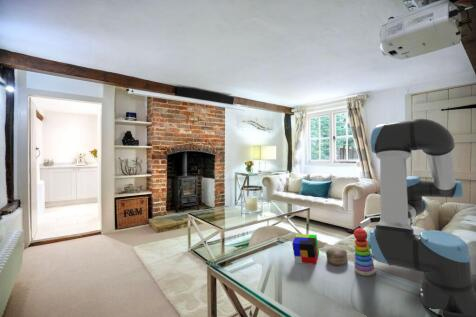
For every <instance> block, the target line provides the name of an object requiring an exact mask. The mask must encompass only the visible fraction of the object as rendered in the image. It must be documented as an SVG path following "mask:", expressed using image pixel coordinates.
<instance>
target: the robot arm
mask: <svg viewBox="0 0 476 317" xmlns="http://www.w3.org/2000/svg"><path fill="white" fill-rule="evenodd" d="M370 149H371V152H372V153H373V154H375V157H376V158H378V160H379V173H380V174H379V175H380V176H379V182H380V184H379V186H380V187H379V193H380V194H379V196H380V197H379V201H380V202H379V204H380V207H379V208H380V209H379V210H380V211H379V212H378V213H372V214H367V215H364V219H363V220H362V221H360V222H359V225H360V227H359V228H361V229H364V228H365V227H368V226H370V225H371V224H373V223H376V224H375V228H373V229H371V230H370V231H369V232H370V233H369V234H370V235H369V245H370V246H369V247H370V251H371V255H372V257H373V258H374V259H375V260H376V261H377V262H379V263H382V264H385V265H388V266H395V267H399V268H403V269H409V270H412V271H413V270H414V271H417V272H422V273H423V275H424V278H423V281H422V284H421V286H420V289H419V296H420V297H419V298H420V300H421V302H422V304H423V306H424V307H425V308H427V307H428V308H431V309H442V311H443V316H444V317H476V291H475V289H474V287H473V286H474V285H473V278H472V277H473V276H472V268H471V267H472V266H471V260H472V257H471V254H470V249H469V245H468V244H467V243H466V241H465V240H464V239H462V238H460V237H458V236H457V235H455V234H453V233H449V232H447V231H446V232H445V231H442V230H437V229H436V230H435V229H430V230H428V229H427V230H423V231H421V232H420V233H419V234H414V231H415V230H414V228H413V227H412V225H413V219H414V218H416V217H417V216H420V215H422V214H423V213H424V212H425V211H426V210H427V209H428V204H427V202H426V200H425V199H423V197H428V198H429V197H431V198H450V199H453V198H454V199H455V198H456V199H457V198H458V199H459V198H462V197H463V196H464V191H463V190H464V188H463V182H462V181H461V180H456V174H455V167H454V166H455V165H454V160H453V153H452V151H453V150H454V149H455V140H454V137H453V134H451V132H450V131H449V129H447V128H446V127H445V126H444V125H443V124H441V123H439V122H436V121H434V120H433V119H432V120H431V119H427V118H416V119H412V120H411V119H410V120H409V119H408V120H403V121H396V122H386V123H384V124H382V123H381V124H378V125H376V126H375V127H374V128H373V129H372V131H371V134H370ZM420 150H421V151H422V152H423V153H424V154H425V155H426V158H427V162H428V166H429V171H430V174H431V179H432V180H421V177H419V176H418V175H408V174H407V173H408V172H407V171H408V170H407V169H408V167H407V160H408V159H409V158H411V156H412V151H420ZM428 308H427V309H428Z"/></svg>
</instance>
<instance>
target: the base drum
mask: <svg viewBox="0 0 476 317" xmlns="http://www.w3.org/2000/svg"><path fill="white" fill-rule="evenodd" d="M325 254H326V261H327V263H328V264H329V265H331V266H334V267H342V266H345V265H347V264H348V262H349V260H348V254H347V250H345V249H344V248H341V247H331V248H329V249H327V250H326V251H325Z"/></svg>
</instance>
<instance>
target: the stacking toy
mask: <svg viewBox="0 0 476 317" xmlns="http://www.w3.org/2000/svg"><path fill="white" fill-rule="evenodd" d="M353 237H354V238H355V240H354V261H353V262H354V263H353V264H354V271H355V273H357V274H359V275H362V276H364V277H365V276H366V277H367V276H368V277H370V276H372V275H375V273H376V267H375V264H374V259H373V254H372V250H371V248H370V246H369V241H368V240H367V237H368V232H367V231H366V230H365V229H364V228H361V227H359V228H356V229H355V230H354V231H353Z"/></svg>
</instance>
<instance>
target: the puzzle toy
mask: <svg viewBox="0 0 476 317" xmlns="http://www.w3.org/2000/svg"><path fill="white" fill-rule="evenodd" d="M318 242H319V241H318V237H317V234H307V233H306V234H305V233H297V234H296V235H295V237H294V239H293V241H292V243H291V245H292V250H293V251H292V252H293V257H294V262H295V263H297V264H298V263H299V264H309V263H311V264H312V265H317V263H318V259H319V254H320V249H319V244H318Z"/></svg>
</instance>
